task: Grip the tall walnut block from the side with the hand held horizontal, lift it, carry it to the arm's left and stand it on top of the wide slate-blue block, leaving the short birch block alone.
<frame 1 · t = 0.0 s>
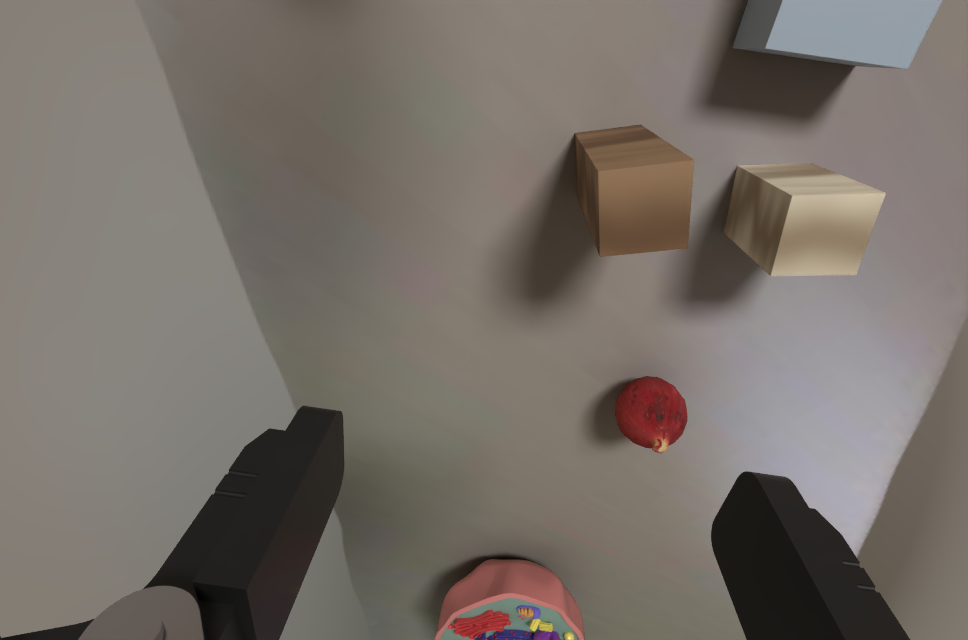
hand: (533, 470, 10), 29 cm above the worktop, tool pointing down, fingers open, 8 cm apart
walnut block: (607, 161, 35), on the worktop
birch block: (765, 199, 35), on the worktop
cell model: (511, 577, 60), on the worktop
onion: (640, 384, 44), on the worktop
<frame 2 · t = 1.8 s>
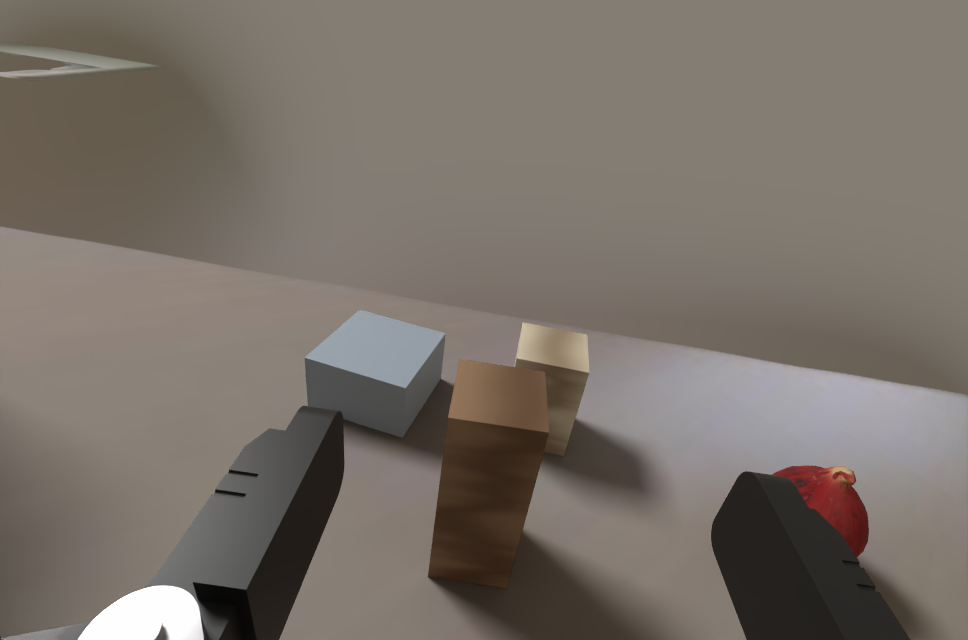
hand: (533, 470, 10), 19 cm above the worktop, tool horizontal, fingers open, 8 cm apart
walnut block: (471, 546, 29), on the worktop
birch block: (533, 427, 39), on the worktop
base block: (378, 394, 40), on the worktop
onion: (780, 554, 32), on the worktop
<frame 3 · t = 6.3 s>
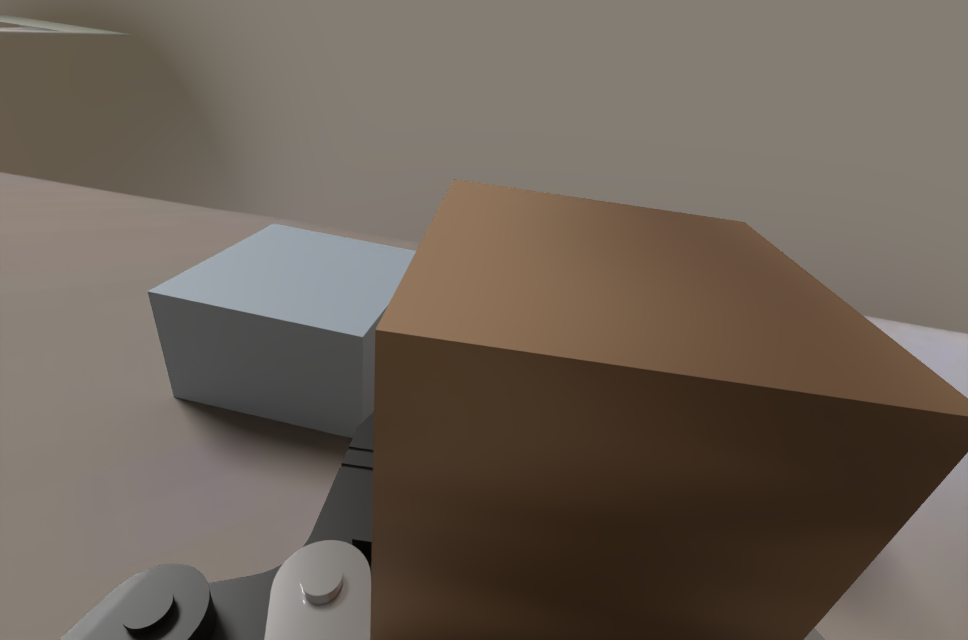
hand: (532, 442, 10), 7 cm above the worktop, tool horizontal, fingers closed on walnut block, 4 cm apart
base block: (315, 366, 23), on the worktop
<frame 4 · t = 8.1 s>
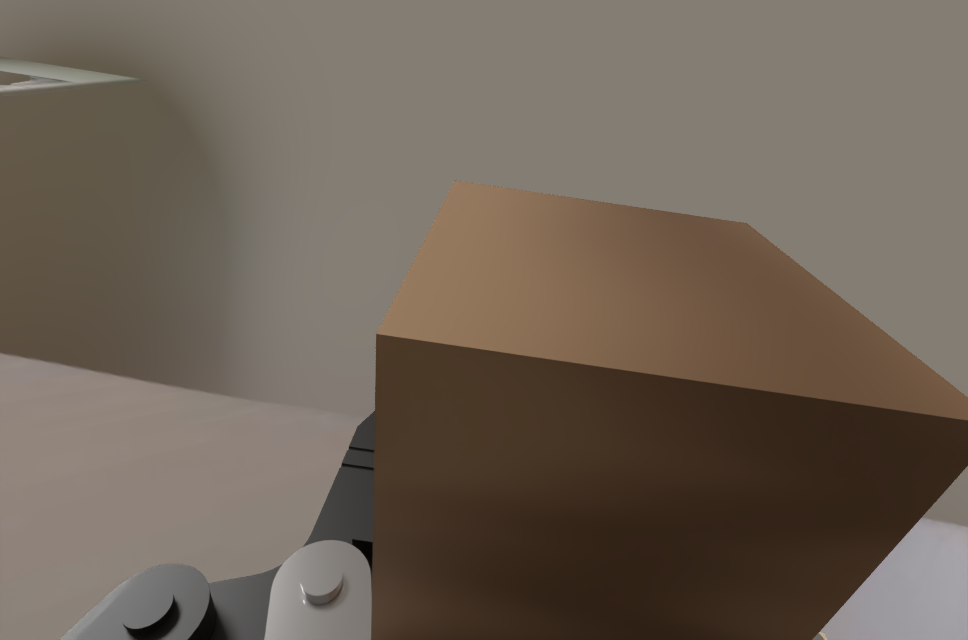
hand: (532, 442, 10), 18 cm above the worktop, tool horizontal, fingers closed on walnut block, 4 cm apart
when the fingers open (12 cm above the worktop, at t = 9.9 s): walnut block drops 1 cm, resting on base block.
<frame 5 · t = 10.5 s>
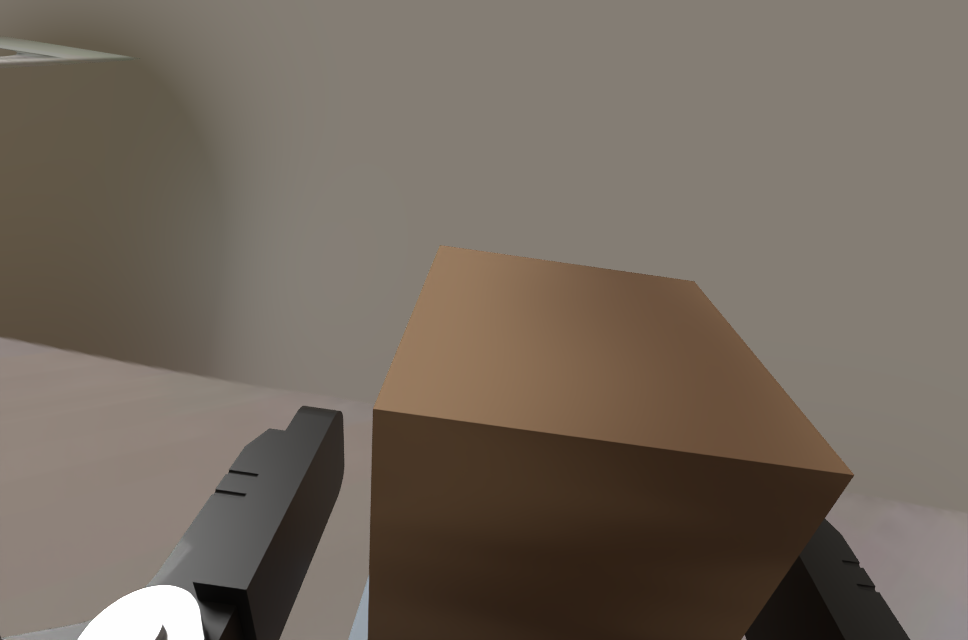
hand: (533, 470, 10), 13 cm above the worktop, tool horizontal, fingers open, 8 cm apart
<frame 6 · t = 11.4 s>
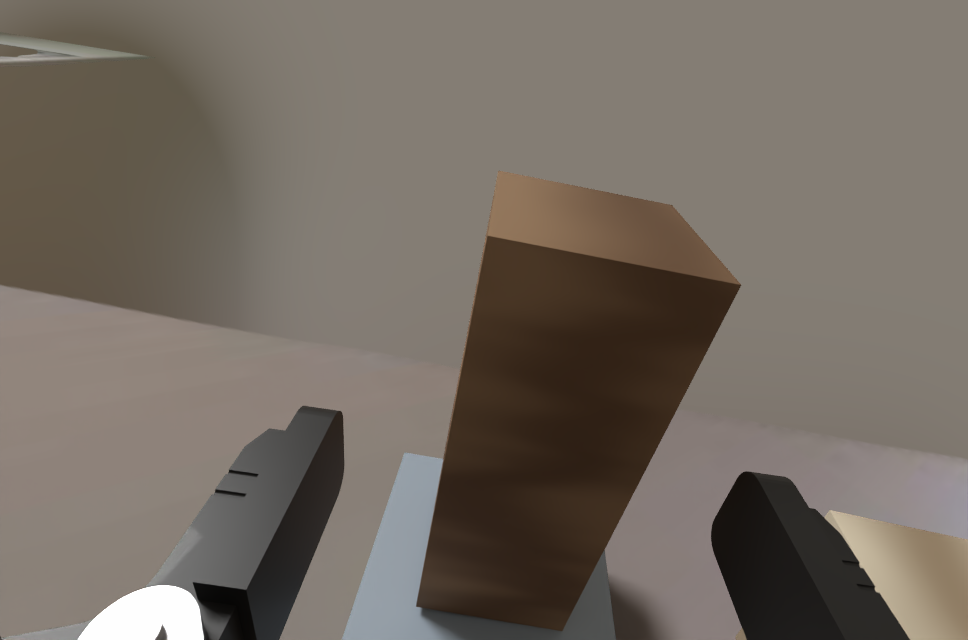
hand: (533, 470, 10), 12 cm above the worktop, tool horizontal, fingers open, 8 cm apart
walnut block: (493, 550, 16), point 5 cm above the worktop, touching base block
base block: (474, 635, 19), on the worktop, touching walnut block
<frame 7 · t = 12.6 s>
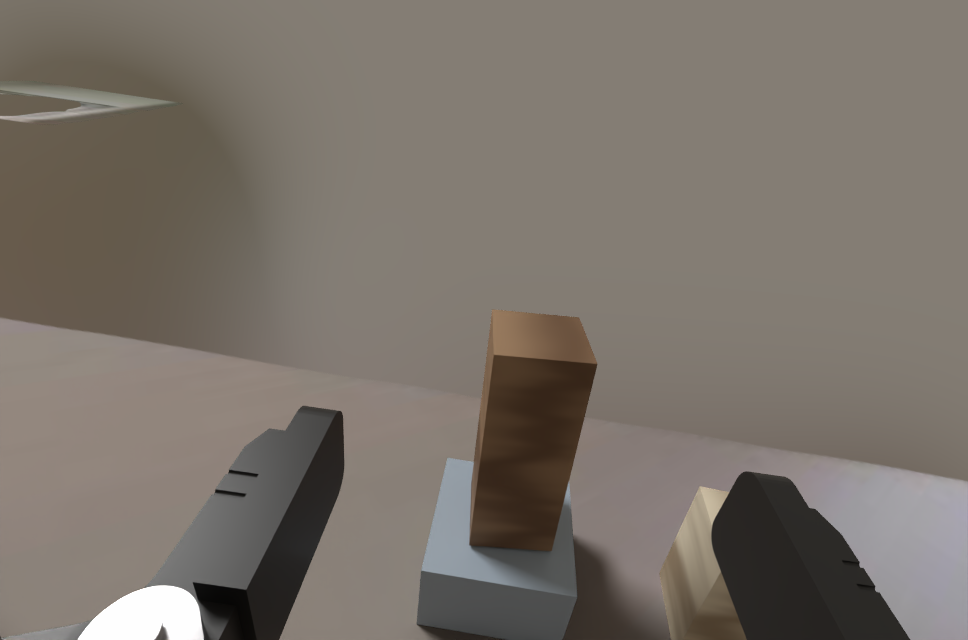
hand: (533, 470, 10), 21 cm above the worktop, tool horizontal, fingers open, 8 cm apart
walnut block: (508, 514, 28), point 5 cm above the worktop, touching base block
birch block: (708, 620, 29), on the worktop
base block: (493, 571, 30), on the worktop, touching walnut block
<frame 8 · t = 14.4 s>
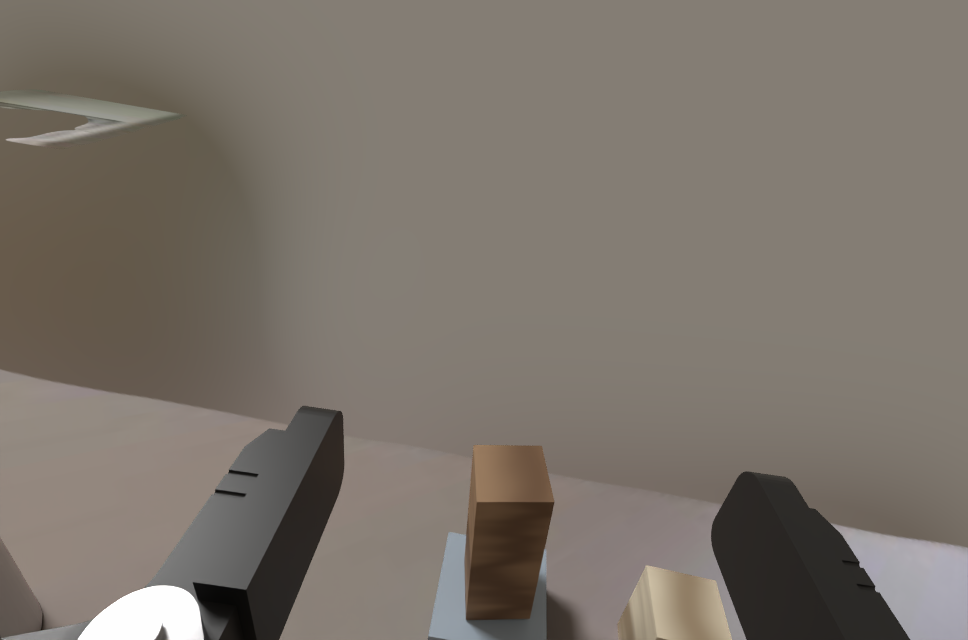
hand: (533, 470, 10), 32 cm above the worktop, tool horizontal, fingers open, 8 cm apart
walnut block: (495, 587, 35), point 5 cm above the worktop, touching base block
base block: (484, 625, 38), on the worktop, touching walnut block
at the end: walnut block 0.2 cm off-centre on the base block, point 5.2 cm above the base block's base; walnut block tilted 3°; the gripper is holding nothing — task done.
